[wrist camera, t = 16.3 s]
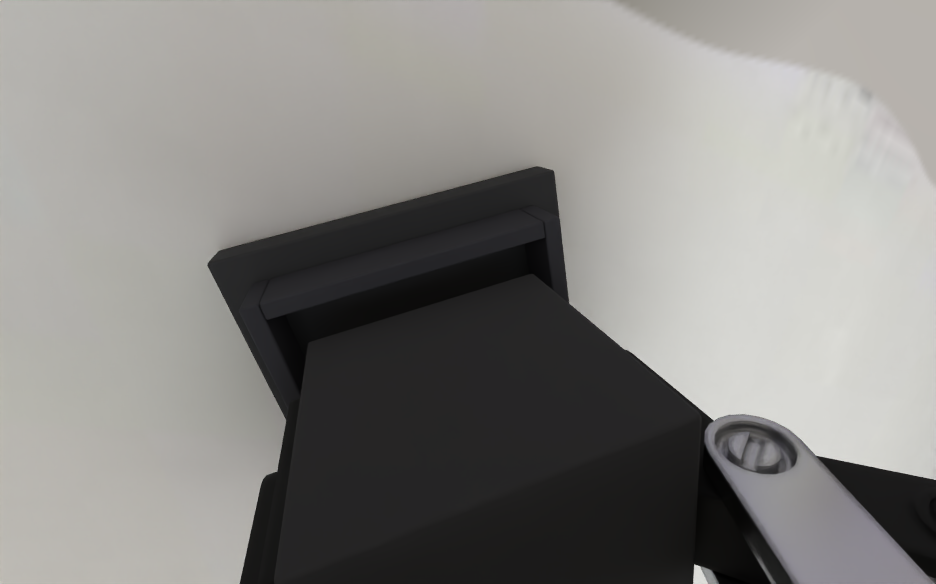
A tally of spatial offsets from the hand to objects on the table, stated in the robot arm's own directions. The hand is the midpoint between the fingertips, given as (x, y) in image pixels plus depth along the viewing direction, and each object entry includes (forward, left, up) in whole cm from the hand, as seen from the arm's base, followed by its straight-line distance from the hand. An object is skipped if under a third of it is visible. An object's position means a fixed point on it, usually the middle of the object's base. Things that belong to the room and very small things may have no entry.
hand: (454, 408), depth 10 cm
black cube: (0, 0, 0) cm, 0 cm away
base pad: (0, 0, -3) cm, 3 cm away
